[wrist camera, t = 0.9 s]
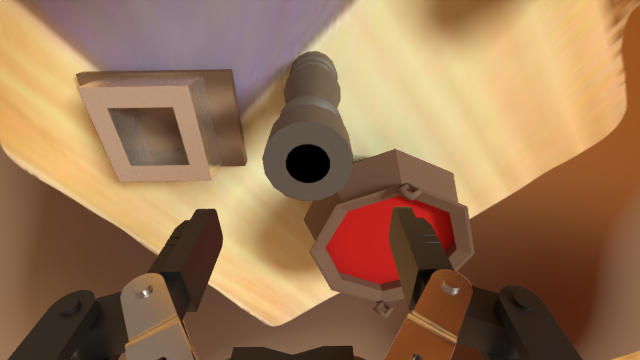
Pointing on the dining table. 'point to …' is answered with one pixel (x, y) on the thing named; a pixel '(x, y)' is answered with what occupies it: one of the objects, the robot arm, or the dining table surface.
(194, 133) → the square collar
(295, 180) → the candle holder
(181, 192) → the dining table surface
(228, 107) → the socket board
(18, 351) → the robot arm
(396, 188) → the brown cauldron
